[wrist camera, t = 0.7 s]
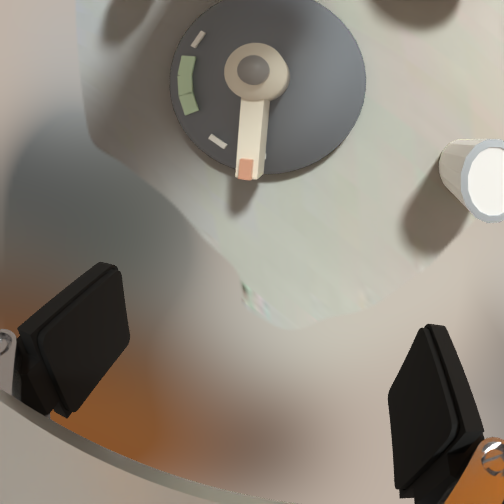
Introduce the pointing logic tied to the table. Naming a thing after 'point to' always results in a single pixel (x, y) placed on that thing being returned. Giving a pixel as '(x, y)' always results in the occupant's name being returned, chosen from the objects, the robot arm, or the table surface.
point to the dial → (295, 96)
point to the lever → (254, 101)
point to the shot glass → (476, 176)
